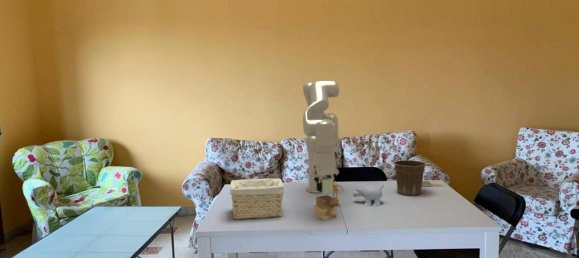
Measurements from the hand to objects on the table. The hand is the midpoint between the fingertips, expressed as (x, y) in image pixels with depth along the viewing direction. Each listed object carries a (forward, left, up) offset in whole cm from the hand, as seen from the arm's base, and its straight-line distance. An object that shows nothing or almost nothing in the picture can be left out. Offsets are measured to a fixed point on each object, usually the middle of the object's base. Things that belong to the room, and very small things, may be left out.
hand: (324, 189), depth 171 cm
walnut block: (0, 0, -8) cm, 8 cm away
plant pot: (-58, -7, -13) cm, 60 cm away
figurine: (-13, -11, -13) cm, 21 cm away
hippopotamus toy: (-29, -6, -13) cm, 32 cm away
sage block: (0, 0, -1) cm, 1 cm away
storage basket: (+24, -21, -13) cm, 34 cm away
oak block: (0, 0, -13) cm, 13 cm away
